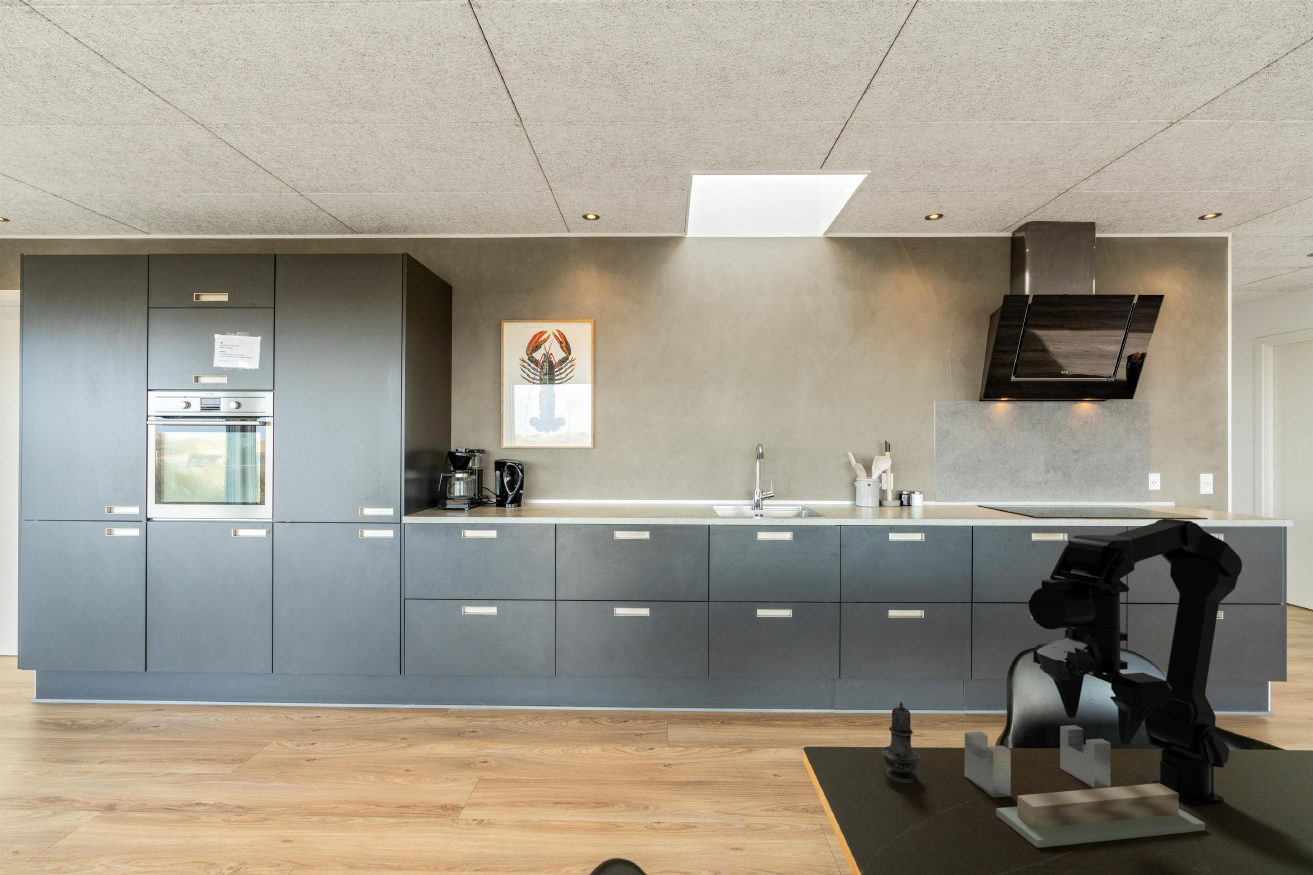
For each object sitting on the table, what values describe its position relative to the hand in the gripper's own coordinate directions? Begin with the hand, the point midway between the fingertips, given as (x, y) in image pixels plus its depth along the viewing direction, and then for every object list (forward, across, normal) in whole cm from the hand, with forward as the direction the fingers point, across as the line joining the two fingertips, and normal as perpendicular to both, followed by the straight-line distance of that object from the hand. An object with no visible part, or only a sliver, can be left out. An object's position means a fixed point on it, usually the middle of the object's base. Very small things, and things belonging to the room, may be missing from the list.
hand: (1096, 730), depth 96 cm
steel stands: (+13, -11, -1) cm, 17 cm away
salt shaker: (+13, -16, -22) cm, 30 cm away
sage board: (+13, +1, -1) cm, 13 cm away
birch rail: (+12, +1, -1) cm, 12 cm away
